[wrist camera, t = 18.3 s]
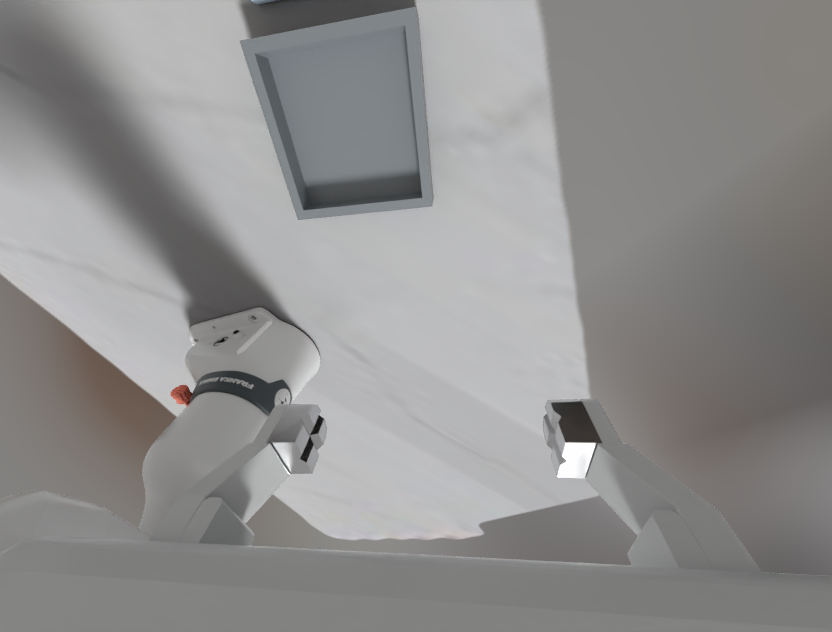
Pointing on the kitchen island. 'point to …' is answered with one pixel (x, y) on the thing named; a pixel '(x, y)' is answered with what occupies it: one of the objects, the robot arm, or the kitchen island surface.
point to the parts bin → (347, 113)
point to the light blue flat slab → (262, 1)
